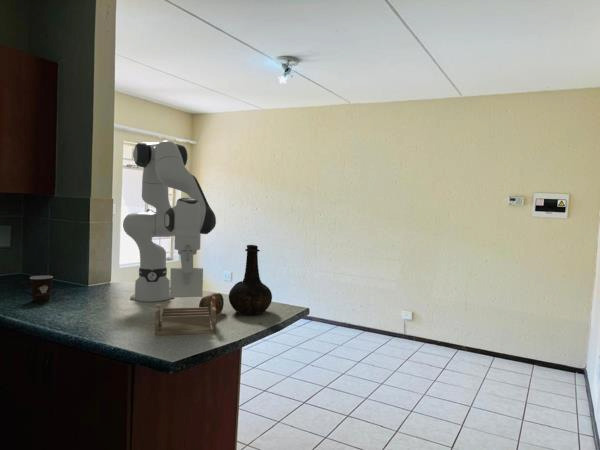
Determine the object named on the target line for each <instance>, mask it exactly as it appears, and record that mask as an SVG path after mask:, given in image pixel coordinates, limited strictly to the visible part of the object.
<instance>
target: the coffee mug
mask: <svg viewBox="0 0 600 450" xmlns="http://www.w3.org/2000/svg"><path fill="white" fill-rule="evenodd" d="M53 280H54V276H52V275H35V276H30V277H29V281H23V282H21V283H20V285H19V289H20V290H21V291H22V292H24V293H26V294H28V295H30V297H31V298H32V302H33V301H37V302H36V303H43V302H42V301H46V302H48V300H49V301H51V295H52V294H51V293H52V286H53ZM23 284H28V285H29V287H30V290H31V293H30V292H29V291H26V290H24V289H23V288H22V285H23Z"/></svg>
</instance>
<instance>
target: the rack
mask: <svg viewBox="0 0 600 450" xmlns="http://www.w3.org/2000/svg"><path fill="white" fill-rule="evenodd" d="M154 315H155V322H154V335H155V336H170V335H173V336H175V335H195V334H196V335H197V334H198V335H199V334H216V333H217V332H216V331H217V315H216V308H215V296H214V297H212V302H211V314H210V315H209V310H208V307H199V306H198V307H174V308H173V307H166V308H165V307H164V308H163V307H162V313H161V302H157V303H156V307H155V314H154Z"/></svg>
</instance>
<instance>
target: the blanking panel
mask: <svg viewBox="0 0 600 450" xmlns="http://www.w3.org/2000/svg"><path fill="white" fill-rule="evenodd" d="M169 280H170V297H174V298H203V296H204V295H203V293H204V292H203V289H204V287H203V286H204V284H203V283H204V267H193V274H192V275H190V282H189V285H185V284H184V275H183V274H182V267H170V279H169Z"/></svg>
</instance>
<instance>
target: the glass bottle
mask: <svg viewBox="0 0 600 450" xmlns="http://www.w3.org/2000/svg"><path fill="white" fill-rule="evenodd" d="M258 248H259V246H257V244H247V245H246V248H245V252H246V261H245V270H244V276H243V280H241V281H238V282H236V283H235V284H234V285H233V287H232V288H231V289H230V290H229V292H228V300H229V305H230V306H231V308H233V309H234V311H235V312H237V313H238V314H240V315H244V316H256V315H259V314H262V313H264V312H266V311H267V310H268V309H269V307H270V306H271V304H272V300H273V294H272V291H271V289H270V288H269V287H268V286H267V285H266V284H265V283H263V282H262V280H261V277H260V271H259V261H258V260H259V257H258V252H260V251H261V250H260V249H258Z"/></svg>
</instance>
